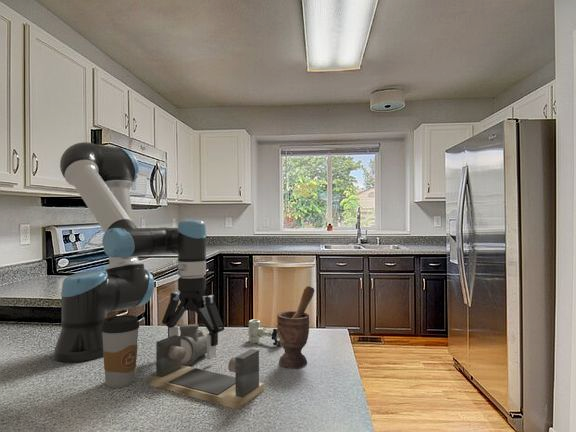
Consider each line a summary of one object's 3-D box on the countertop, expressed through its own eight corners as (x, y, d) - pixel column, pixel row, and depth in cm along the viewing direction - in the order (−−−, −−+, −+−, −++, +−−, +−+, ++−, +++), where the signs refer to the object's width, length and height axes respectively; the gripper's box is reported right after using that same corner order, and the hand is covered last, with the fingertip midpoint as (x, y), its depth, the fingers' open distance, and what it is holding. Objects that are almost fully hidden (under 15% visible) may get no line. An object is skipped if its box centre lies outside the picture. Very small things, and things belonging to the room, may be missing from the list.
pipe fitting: (192, 369, 97) (192, 327, 99) (166, 368, 99) (166, 327, 101) (216, 358, 108) (215, 321, 110) (191, 358, 111) (191, 321, 112)
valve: (242, 343, 120) (274, 349, 113) (242, 322, 120) (274, 327, 113) (255, 337, 125) (286, 343, 119) (255, 317, 125) (285, 322, 119)
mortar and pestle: (291, 353, 110) (290, 283, 110) (319, 357, 106) (318, 285, 106) (271, 366, 100) (271, 290, 100) (301, 372, 96) (301, 292, 96)
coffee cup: (114, 393, 84) (115, 325, 85) (93, 384, 89) (93, 320, 89) (146, 379, 91) (146, 317, 92) (125, 372, 96) (125, 313, 96)
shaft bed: (149, 385, 88) (149, 344, 88) (180, 370, 97) (180, 333, 97) (237, 409, 77) (237, 361, 77) (263, 390, 85) (263, 347, 86)
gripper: (149, 275, 108) (149, 350, 107) (219, 281, 96) (219, 365, 95) (169, 272, 114) (168, 343, 114) (237, 277, 102) (237, 356, 102)
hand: (192, 353), depth 104 cm, fingers open, 13 cm apart
